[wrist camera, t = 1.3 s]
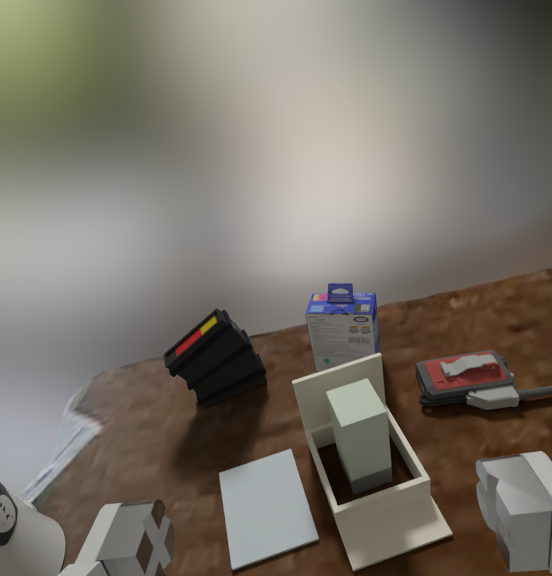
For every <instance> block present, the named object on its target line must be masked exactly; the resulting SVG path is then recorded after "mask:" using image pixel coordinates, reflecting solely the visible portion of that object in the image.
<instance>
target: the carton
mask: <svg viewBox="0 0 552 576" xmlns="http://www.w3.org/2000/svg"><path fill="white" fill-rule="evenodd" d="M366 378H368V380H369V382H370V383H371V385H372V387H373V388H374V390H375V392H376V394H377V395H378V397H379V399H380V400H381V402H382V404H383V405H384V407H385V409H386V411H387V417H388V429H389V434H390V436H391V438H392V440H393V442H394V443H395V445H396V447H397V449H398V450H399V452H400V454H401V456H402V458H403V459H404V461H405V463H406V465H407V466H408V468H409V470H410V472H411V474H412V475H413V477H414V480H411V481H408V482H405V483H402V484H399V485H396V486H394V487H391V488H388V489H385V490H382V491H379V492H377V493H374V494H371V495H368V496H365V497H362V498H360V499H357V500H354V501H351V502H348V503H345V504H343V505H340V506H338V505H337V503H336V500H335V497H334V495H333V492H332V489H331V486H330V484H329V481H328V478H327V476H326V473H325V470H324V468H323V465H322V462H321V460H320V457H319V454H318V451H317V449H318V448H321V447H324V446H327V445H330V444H333V443H336V442H335V437H334V432H333V427H332V422H331V416H330V411H329V406H328V401H327V396H326V392H327V391H330V390H333V389H336V388H339V387H342V386H345V385H348V384H351V383H354V382H357V381H360V380H363V379H366ZM292 383H293V387H294V391H295V395H296V399H297V403H298V407H299V411H300V415H301V419H302V422H303V426H304V430H305V433H306V437H307V441H308V445H309V448H310V451H311V454H312V457H313V460H314V462H315V465H316V468H317V471H318V474H319V476H320V479H321V482H322V485H323V488H324V491H325V493H326V496H327V499H328V502H329V505H330V507H331V510H332V513H333V516H334V519H335V521H336V524H337V527H338V530H339V533H340V536H341V538H342V541H343V544H344V547H345V550H346V552H347V555H348V558H349V561H350V564H351V566H352V569H353V572H354V571H356V570H359V569H362V568H365V567H367V566H370V565H373V564H376V563H378V562H381V561H384V560H386V559H389V558H392V557H395V556H397V555H400V554H403V553H406V552H408V551H411V550H414V549H416V548H419V547H422V546H425V545H427V544H430V543H433V542H435V541H438V540H441V539H444V538H446V537H449V536H452V534H453V533H452V532H451V530H450V528H449V526H448V525H447V523H446V521H445V520H444V518H443V516H442V514H441V513H440V511H439V509H438V507H437V506H436V504H435V502H434V500H433V499H432V497H431V495H430V478H429V476H428V475H427V473H426V471H425V470H424V468H423V466H422V465H421V463H420V461H419V460H418V458H417V456H416V455H415V453H414V451H413V450H412V448H411V446H410V445H409V443H408V441H407V439H406V438H405V436H404V434H403V433H402V431H401V429H400V428H399V426H398V424H397V423H396V421H395V419H394V418H393V416H392V414H391V413H390V411H389V409H388V408H387V406H386V404H385V392H384V379H383V367H382V355H381V354H380V353H377V354H374V355H370V356H367V357H364V358H361V359H358V360H355V361H352V362H349V363H346V364H343V365H340V366H336V367H333V368H330V369H327V370H324V371H321V372H318V373H315V374H312V375H309V376H305V377H302V378H299V379H296V380H293V381H292Z"/></svg>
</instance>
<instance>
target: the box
mask: <svg viewBox="0 0 552 576" xmlns="http://www.w3.org/2000/svg"><path fill="white" fill-rule="evenodd" d="M326 396H327V401H328V406H329V411H330V416H331V422H332V427H333V432H334V437H335V442H336V447H337V452H338V457H339V461H340V463H341V466H342V468H343V470H344V473H345V475H346V478H347V480H348V483H349V485H350V487H351V490H352V492H353V495H355V494H358V493H361V492H364V491H367V490H369V489H372V488H375V487H378V486H381V485H384V484H386V483H389V482H392V481H393V479H392V467H391V454H390V442H389V429H388V417H387V411H386V409H385V407H384V405H383V404H382V402H381V400H380V399H379V397H378V395H377V394H376V392H375V390H374V388H373V387H372V385H371V383H370V382H369V380H368V378H366V379H363V380H360V381H357V382H354V383H351V384H348V385H345V386H342V387H339V388H336V389H333V390H330V391H327V392H326Z"/></svg>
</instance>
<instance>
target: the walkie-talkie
mask: <svg viewBox="0 0 552 576" xmlns="http://www.w3.org/2000/svg"><path fill="white" fill-rule="evenodd" d="M416 378H417V380H418V383H419V385H420V387H421V390H422V392H423V394H422V395H420V397H419V403H420V404H421V405H424V406H430V405H431V406H433V407H434V406H438V405H443V404H445V405H446V404H450V403H458V402H466V403H467V405H468V404H469V405H472V406H475V407H478V408H482V409H485V410H491V409H498V408H504V407H517V406H518V404H519V400H525V399H527V398H531V397H537V396H544V395H550V394H552V386H548V387H542V388H535V389H529V390H523V389H522V390H515V389H516V385H515V384H514V383H513V379H514V375H513V374H512V373H511V374H510V373H509V371H508V370H507V364H506V361H505V359H504V358H503V357H502V356H498V355H497V353H496V352H495V351H493V350H486V351H480V352H473V353H467V354H461V355H456V356H451V357H445V358H437V359H433V360H426V361H419V362H418V363H417V364H416ZM422 399H425V400H426V401H423V400H422Z"/></svg>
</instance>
